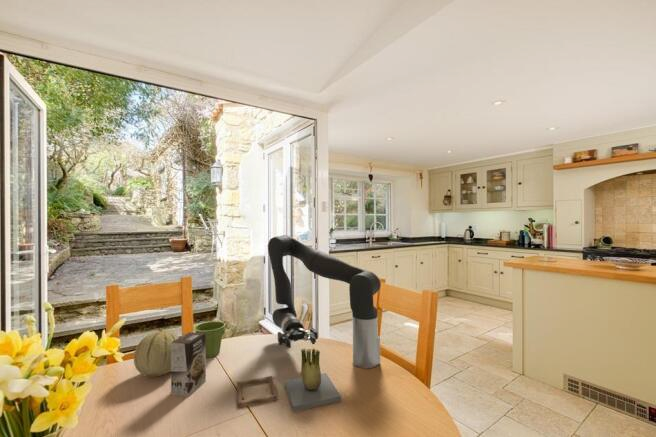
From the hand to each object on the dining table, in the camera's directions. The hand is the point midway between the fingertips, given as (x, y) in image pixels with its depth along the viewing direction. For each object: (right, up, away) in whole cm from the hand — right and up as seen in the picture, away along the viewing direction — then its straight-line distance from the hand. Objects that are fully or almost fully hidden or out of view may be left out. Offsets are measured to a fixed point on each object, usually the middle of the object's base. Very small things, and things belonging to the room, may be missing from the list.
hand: (301, 343), depth 103 cm
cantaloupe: (-50, -12, +1) cm, 51 cm away
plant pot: (-38, -12, +17) cm, 43 cm away
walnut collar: (-13, -11, -11) cm, 20 cm away
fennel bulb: (+4, -9, -11) cm, 15 cm away
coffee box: (-35, -11, -8) cm, 38 cm away
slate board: (+4, -11, -11) cm, 16 cm away
